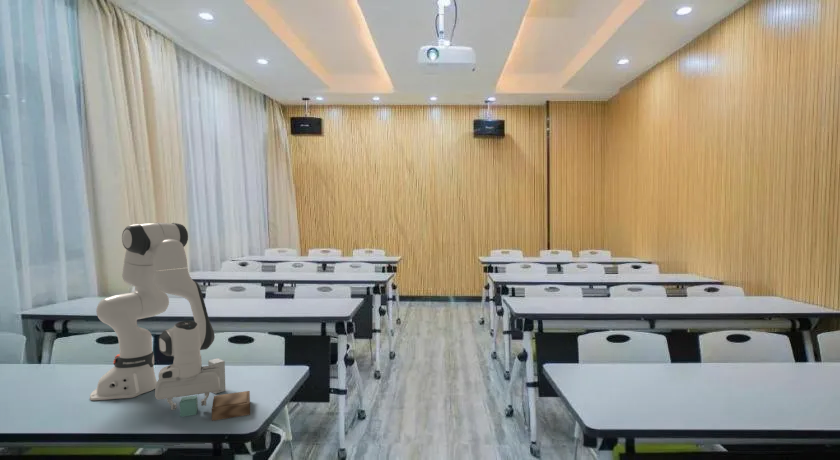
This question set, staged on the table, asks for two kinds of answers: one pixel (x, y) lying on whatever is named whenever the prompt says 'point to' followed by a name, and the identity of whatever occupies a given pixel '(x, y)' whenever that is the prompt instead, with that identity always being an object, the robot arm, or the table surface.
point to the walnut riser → (231, 405)
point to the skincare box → (221, 365)
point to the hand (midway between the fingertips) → (189, 407)
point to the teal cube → (188, 406)
